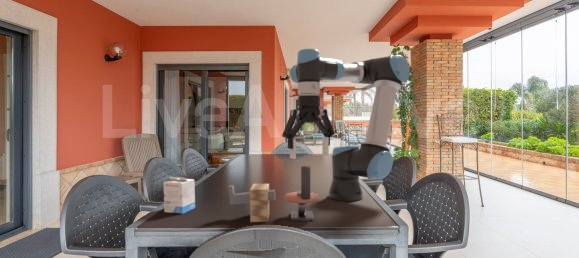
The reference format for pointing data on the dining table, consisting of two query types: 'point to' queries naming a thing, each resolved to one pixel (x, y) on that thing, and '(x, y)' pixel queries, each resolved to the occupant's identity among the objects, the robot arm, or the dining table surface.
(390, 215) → the dining table surface
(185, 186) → the ink box
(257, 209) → the eye block
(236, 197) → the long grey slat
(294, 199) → the handwheel
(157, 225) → the dining table surface
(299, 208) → the wheel post
